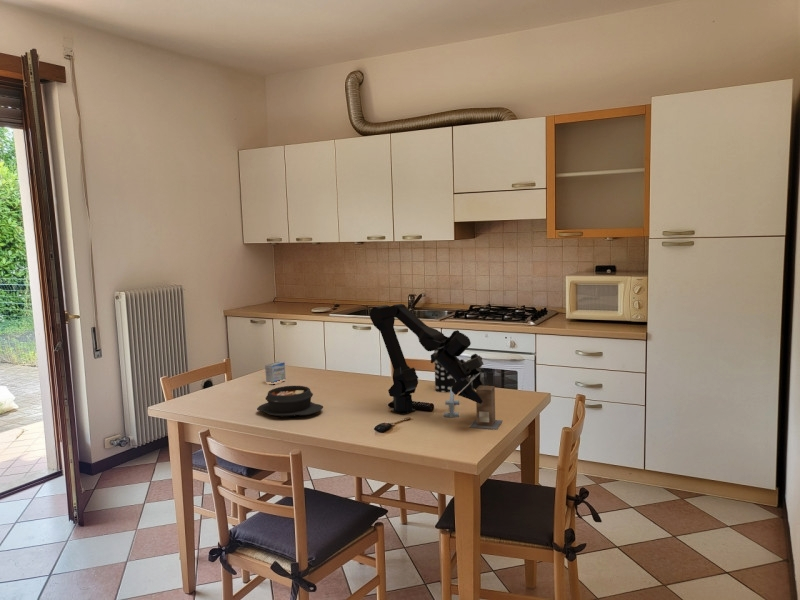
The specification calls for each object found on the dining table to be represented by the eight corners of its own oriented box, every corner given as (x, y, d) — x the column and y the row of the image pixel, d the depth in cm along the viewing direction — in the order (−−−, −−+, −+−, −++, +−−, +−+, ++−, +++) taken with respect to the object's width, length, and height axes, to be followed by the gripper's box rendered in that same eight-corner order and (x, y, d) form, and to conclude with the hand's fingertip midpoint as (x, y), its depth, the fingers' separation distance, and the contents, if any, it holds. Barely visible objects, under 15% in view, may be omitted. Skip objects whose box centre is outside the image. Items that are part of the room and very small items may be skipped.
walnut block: (476, 425, 195) (475, 389, 194) (480, 420, 200) (479, 385, 198) (491, 426, 193) (491, 390, 192) (495, 421, 198) (494, 386, 197)
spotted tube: (453, 392, 237) (451, 343, 235) (432, 391, 240) (431, 342, 237) (458, 387, 245) (456, 339, 243) (438, 386, 247) (436, 338, 245)
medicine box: (273, 385, 260) (272, 365, 259) (265, 384, 263) (264, 364, 262) (286, 381, 267) (285, 362, 266) (278, 380, 269) (277, 361, 268)
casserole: (246, 417, 214) (244, 394, 214) (276, 403, 231) (275, 382, 231) (305, 423, 204) (304, 399, 204) (333, 408, 221) (331, 386, 221)
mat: (469, 427, 194) (469, 426, 194) (476, 419, 202) (476, 418, 202) (497, 429, 191) (497, 428, 191) (502, 421, 199) (502, 420, 199)
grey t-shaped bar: (458, 417, 205) (458, 402, 205) (444, 417, 206) (443, 403, 205) (459, 402, 223) (458, 389, 222) (445, 402, 224) (445, 389, 223)
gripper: (460, 353, 187) (496, 390, 184) (474, 342, 204) (507, 376, 202) (437, 376, 191) (471, 413, 188) (453, 364, 208) (484, 397, 205)
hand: (484, 398), depth 196 cm, fingers open, 9 cm apart
